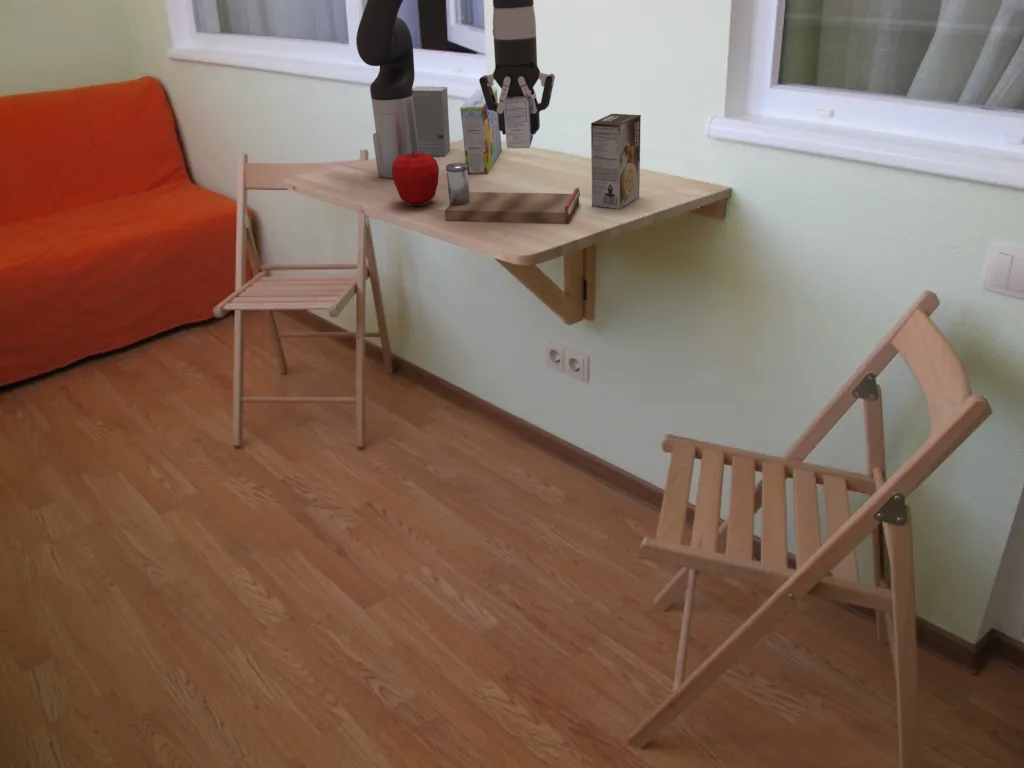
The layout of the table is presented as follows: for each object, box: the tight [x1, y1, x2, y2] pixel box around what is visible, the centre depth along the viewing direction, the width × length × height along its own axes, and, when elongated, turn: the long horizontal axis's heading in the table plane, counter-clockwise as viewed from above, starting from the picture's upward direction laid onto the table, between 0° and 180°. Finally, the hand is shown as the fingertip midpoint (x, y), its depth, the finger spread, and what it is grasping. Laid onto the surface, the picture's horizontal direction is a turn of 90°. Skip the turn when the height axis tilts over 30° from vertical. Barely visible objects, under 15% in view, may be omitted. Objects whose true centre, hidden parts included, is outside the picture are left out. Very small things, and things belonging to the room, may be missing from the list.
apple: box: [392, 151, 440, 207], centre depth 165 cm, size 10×10×11 cm
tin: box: [445, 162, 470, 205], centre depth 159 cm, size 4×4×7 cm
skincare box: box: [412, 85, 451, 157], centre depth 201 cm, size 8×7×16 cm
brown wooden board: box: [444, 187, 581, 224], centre depth 159 cm, size 24×12×3 cm, turn 76°
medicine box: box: [504, 94, 534, 149], centre depth 151 cm, size 8×4×9 cm, turn 174°
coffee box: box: [590, 113, 642, 210], centre depth 158 cm, size 9×6×16 cm
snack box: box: [459, 88, 503, 175], centre depth 191 cm, size 21×6×15 cm, turn 172°
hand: (519, 133), depth 152 cm, fingers closed on medicine box, 4 cm apart
